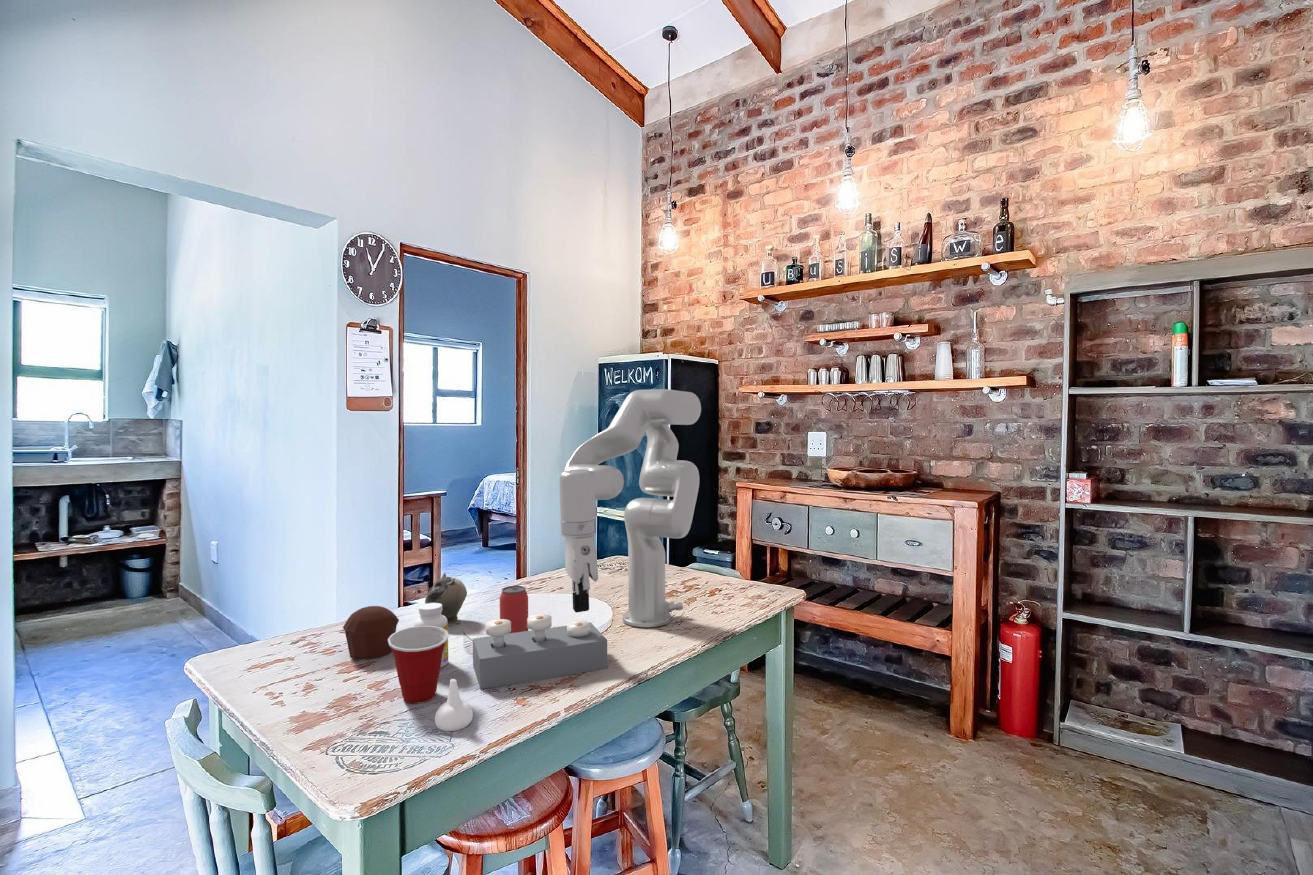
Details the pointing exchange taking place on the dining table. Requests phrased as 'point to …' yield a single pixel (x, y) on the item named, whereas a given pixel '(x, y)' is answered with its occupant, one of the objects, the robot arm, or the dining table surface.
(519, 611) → the beer can
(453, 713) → the garlic bulb
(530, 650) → the console
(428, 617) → the supplement bottle
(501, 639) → the knob
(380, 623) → the muffin
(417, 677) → the plastic cup
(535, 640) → the knob middle
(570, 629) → the knob
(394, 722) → the dining table surface
